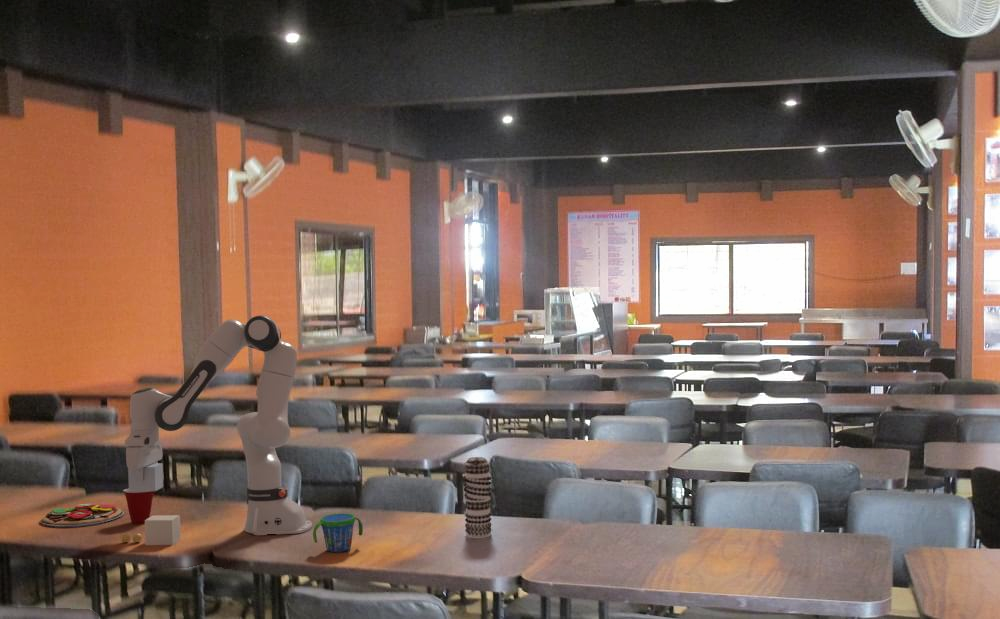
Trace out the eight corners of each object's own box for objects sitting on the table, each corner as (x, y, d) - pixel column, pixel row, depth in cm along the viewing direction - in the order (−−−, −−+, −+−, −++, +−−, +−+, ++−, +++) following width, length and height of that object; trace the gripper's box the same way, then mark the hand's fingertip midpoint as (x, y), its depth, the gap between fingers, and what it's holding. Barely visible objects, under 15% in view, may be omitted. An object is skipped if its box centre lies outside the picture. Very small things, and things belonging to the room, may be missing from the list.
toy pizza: (78, 532, 333) (78, 519, 333) (22, 525, 345) (22, 512, 345) (140, 514, 358) (140, 502, 358) (86, 508, 370) (86, 496, 370)
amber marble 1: (132, 541, 318) (132, 532, 318) (128, 543, 315) (128, 534, 315) (123, 541, 318) (123, 532, 318) (119, 543, 315) (119, 534, 315)
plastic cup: (162, 518, 349) (161, 484, 348) (148, 525, 338) (147, 491, 338) (133, 518, 350) (132, 484, 350) (118, 525, 339) (117, 491, 339)
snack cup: (317, 557, 295) (316, 523, 295) (309, 548, 305) (308, 516, 304) (367, 550, 301) (366, 517, 301) (358, 542, 311) (357, 510, 310)
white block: (163, 487, 329) (162, 463, 329) (155, 491, 322) (154, 467, 322) (137, 487, 329) (136, 463, 329) (128, 491, 323) (128, 467, 323)
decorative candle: (474, 540, 311) (472, 462, 310) (459, 534, 318) (457, 457, 318) (498, 535, 316) (496, 458, 315) (482, 529, 323) (481, 454, 323)
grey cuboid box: (180, 539, 319) (179, 515, 318) (172, 545, 312) (172, 520, 312) (153, 539, 319) (153, 515, 319) (145, 545, 313) (144, 520, 313)
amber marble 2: (143, 541, 318) (143, 532, 318) (139, 543, 315) (139, 534, 315) (134, 541, 318) (134, 532, 318) (130, 543, 315) (130, 534, 315)
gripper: (148, 432, 336) (150, 472, 336) (121, 442, 316) (123, 484, 316) (166, 432, 336) (167, 472, 336) (140, 442, 315) (142, 484, 316)
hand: (146, 478), depth 326 cm, fingers closed on white block, 6 cm apart
